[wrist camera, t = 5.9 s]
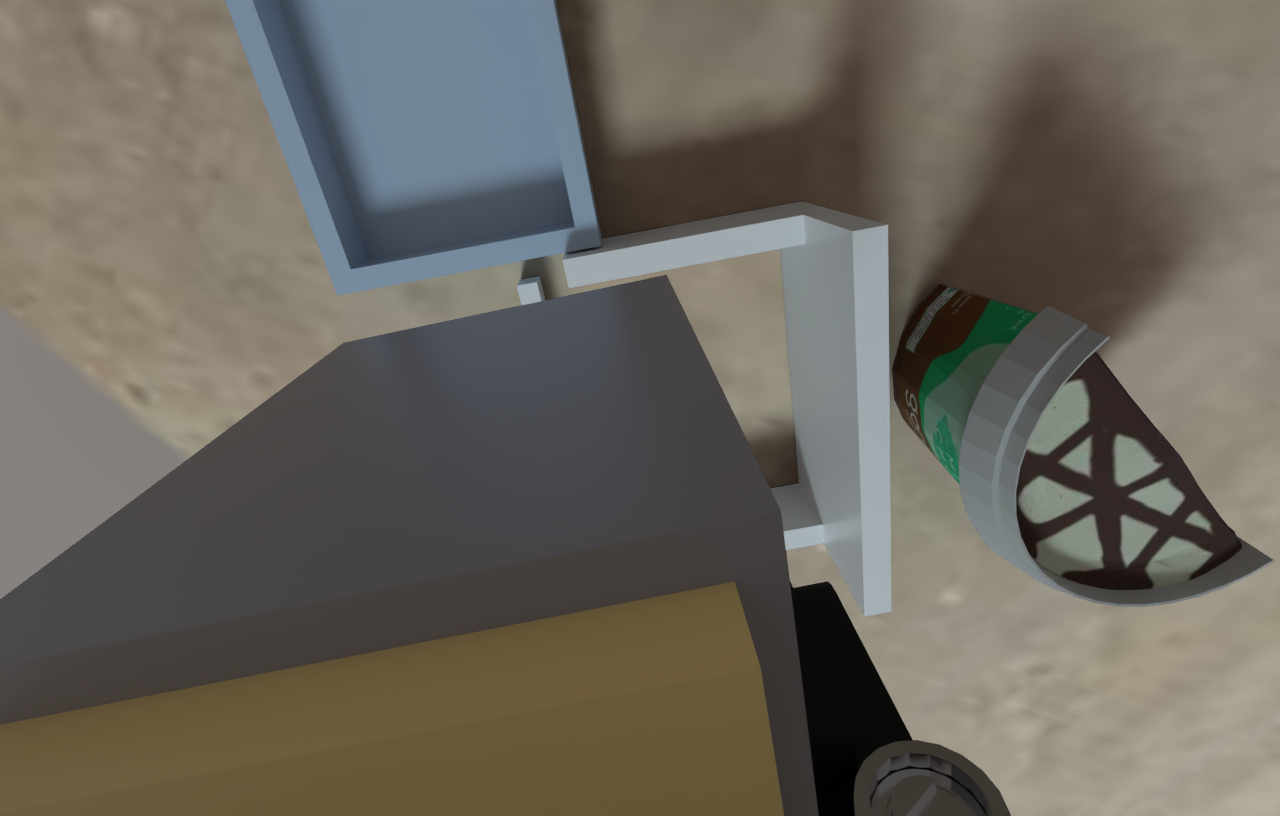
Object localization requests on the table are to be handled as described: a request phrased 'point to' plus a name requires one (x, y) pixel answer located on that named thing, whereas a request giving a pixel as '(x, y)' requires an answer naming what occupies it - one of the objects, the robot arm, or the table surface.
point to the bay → (804, 364)
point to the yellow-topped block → (432, 595)
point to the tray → (424, 131)
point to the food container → (1059, 455)
